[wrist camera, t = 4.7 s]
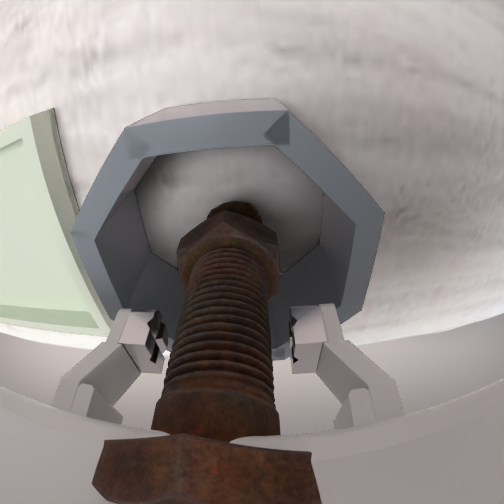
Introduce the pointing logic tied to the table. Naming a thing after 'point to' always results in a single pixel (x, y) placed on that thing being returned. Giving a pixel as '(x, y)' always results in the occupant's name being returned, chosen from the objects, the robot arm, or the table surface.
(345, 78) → the table surface
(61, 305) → the tray
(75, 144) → the table surface
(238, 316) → the bolt
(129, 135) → the grey octagonal ring
